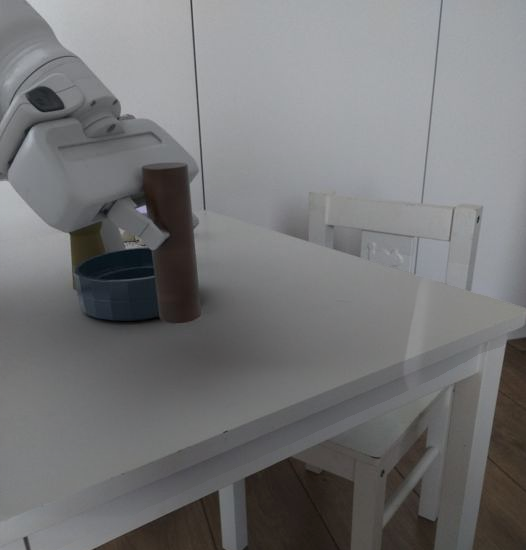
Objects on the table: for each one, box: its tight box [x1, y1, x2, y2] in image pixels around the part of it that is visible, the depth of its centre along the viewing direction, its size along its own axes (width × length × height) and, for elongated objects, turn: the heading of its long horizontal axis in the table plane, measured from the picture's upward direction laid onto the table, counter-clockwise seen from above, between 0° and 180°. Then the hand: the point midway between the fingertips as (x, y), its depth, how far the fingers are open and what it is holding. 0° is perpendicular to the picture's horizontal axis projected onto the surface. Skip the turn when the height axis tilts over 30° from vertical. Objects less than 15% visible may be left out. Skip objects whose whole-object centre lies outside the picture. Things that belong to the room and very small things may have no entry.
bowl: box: [73, 246, 160, 322], centre depth 75 cm, size 15×15×6 cm
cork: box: [68, 221, 106, 291], centre depth 81 cm, size 6×6×11 cm
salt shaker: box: [100, 218, 127, 252], centre depth 88 cm, size 6×6×13 cm
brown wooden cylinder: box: [142, 163, 202, 324], centre depth 52 cm, size 4×4×14 cm
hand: (177, 236), depth 52 cm, fingers closed on brown wooden cylinder, 4 cm apart
